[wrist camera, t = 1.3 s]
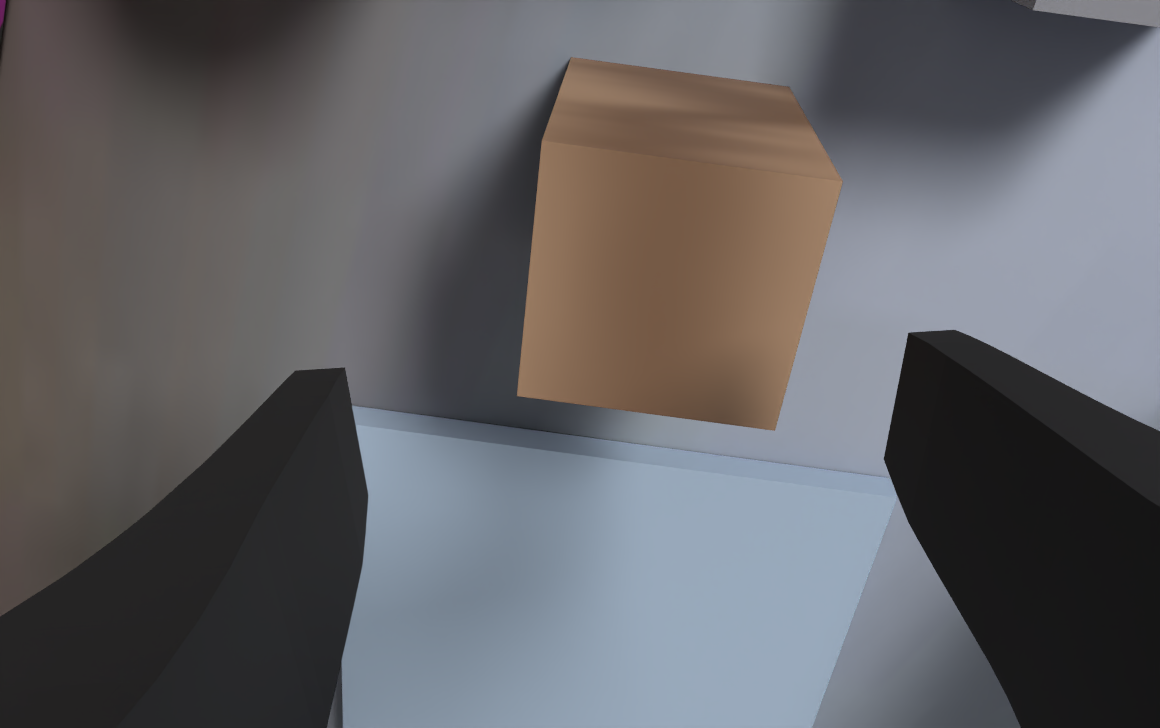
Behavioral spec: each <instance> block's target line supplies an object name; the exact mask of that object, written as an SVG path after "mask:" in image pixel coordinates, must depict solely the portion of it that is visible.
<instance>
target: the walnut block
mask: <svg viewBox="0 0 1160 728" xmlns="http://www.w3.org/2000/svg"><path fill="white" fill-rule="evenodd" d="M842 183H843V181H842V179H841V177H840V176H839V174H838V172H837V170H836V169H835V167H834V165H833V163H832V162H831V160H830V158H829V156H828V155H827V153H826V151H825V149H824V148H823V146H822V144H821V142H820V140H819V139H818V137H817V135H816V133H815V132H814V130H813V128H812V126H811V125H810V123H809V121H808V119H807V118H806V116H805V114H804V112H803V111H802V109H801V107H800V105H799V103H798V102H797V100H796V98H795V96H794V95H793V93H792V91H791V89H790V88H789V87H786V86H779V85H772V84H764V83H757V82H750V81H742V80H735V79H728V78H720V77H713V76H705V75H698V74H691V73H683V72H676V71H669V70H661V69H654V68H647V67H639V66H632V65H624V64H617V63H610V62H602V61H595V60H588V59H580V58H573V57H571V59H570V62H569V65H568V68H567V71H566V73H565V76H564V79H563V82H562V85H561V88H560V91H559V93H558V96H557V99H556V102H555V105H554V108H553V110H552V113H551V116H550V119H549V122H548V125H547V128H546V130H545V133H544V136H543V139H542V144H541V155H540V165H539V175H538V185H537V195H536V206H535V216H534V226H533V236H532V247H531V257H530V267H529V277H528V287H527V298H526V308H525V318H524V328H523V339H522V349H521V359H520V369H519V379H518V390H517V396H521V397H528V398H536V399H543V400H551V401H558V402H565V403H573V404H580V405H588V406H595V407H603V408H610V409H618V410H625V411H632V412H640V413H647V414H655V415H662V416H670V417H677V418H685V419H692V420H699V421H707V422H714V423H722V424H729V425H737V426H744V427H752V428H759V429H766V430H774V431H775V428H776V425H777V421H778V417H779V414H780V410H781V406H782V403H783V399H784V395H785V392H786V388H787V384H788V381H789V377H790V373H791V370H792V366H793V362H794V359H795V355H796V351H797V348H798V344H799V340H800V337H801V333H802V329H803V326H804V322H805V318H806V315H807V311H808V307H809V304H810V300H811V296H812V293H813V289H814V285H815V282H816V278H817V274H818V271H819V267H820V263H821V260H822V256H823V252H824V249H825V245H826V241H827V238H828V234H829V230H830V227H831V223H832V219H833V216H834V212H835V208H836V205H837V201H838V197H839V194H840V190H841V186H842Z"/></svg>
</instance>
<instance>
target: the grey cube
mask: <svg viewBox="0 0 1160 728" xmlns="http://www.w3.org/2000/svg"><path fill="white" fill-rule="evenodd" d="M1011 1H1014V2H1016V3H1018V4H1020V5H1022V6H1025V7H1027V8H1029V9H1031V10H1035V11H1042V12H1050V13H1057V14H1065V15H1072V16H1079V17H1087V18H1094V19H1102V20H1109V21H1116V22H1124V23H1131V24H1138V25H1146V26H1153V27H1160V0H1011Z"/></svg>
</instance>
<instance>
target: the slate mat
mask: <svg viewBox="0 0 1160 728" xmlns="http://www.w3.org/2000/svg"><path fill="white" fill-rule="evenodd" d="M352 409H353V414H354V420H355V425H356V431H357V436H358V441H359V447H360V452H361V458H362V463H363V468H364V474H365V479H366V485H367V490H368V495H369V496H368V509H367V522H366V535H365V545H364V556H363V565H362V570H361V575H360V580H359V584H358V589H357V593H356V598H355V603H354V607H353V612H352V616H351V621H350V625H349V630H348V634H347V639H346V643H345V647H344V652H343V656H342V704H343V728H812V726H813V723H814V721H815V718H816V715H817V712H818V710H819V707H820V704H821V702H822V699H823V696H824V694H825V691H826V688H827V686H828V683H829V680H830V677H831V675H832V672H833V669H834V667H835V664H836V661H837V659H838V656H839V653H840V651H841V648H842V645H843V642H844V640H845V637H846V634H847V632H848V629H849V626H850V624H851V621H852V618H853V616H854V613H855V610H856V607H857V605H858V602H859V599H860V597H861V594H862V591H863V589H864V586H865V583H866V580H867V578H868V575H869V572H870V570H871V567H872V564H873V562H874V559H875V556H876V554H877V551H878V548H879V545H880V543H881V540H882V537H883V535H884V532H885V529H886V527H887V524H888V521H889V519H890V516H891V513H892V510H893V508H894V505H895V502H896V500H897V496H896V493H895V490H894V488H893V485H892V482H891V480H890V478H885V477H878V476H870V475H863V474H855V473H848V472H841V471H833V470H826V469H818V468H811V467H803V466H796V465H789V464H781V463H774V462H766V461H759V460H752V459H744V458H737V457H729V456H722V455H714V454H707V453H700V452H692V451H685V450H677V449H670V448H663V447H655V446H648V445H640V444H633V443H625V442H618V441H611V440H603V439H596V438H588V437H581V436H574V435H566V434H559V433H551V432H544V431H536V430H529V429H522V428H514V427H507V426H499V425H492V424H485V423H477V422H470V421H462V420H455V419H447V418H440V417H433V416H425V415H418V414H410V413H403V412H396V411H388V410H381V409H373V408H366V407H358V406H352Z"/></svg>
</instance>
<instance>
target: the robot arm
mask: <svg viewBox="0 0 1160 728" xmlns="http://www.w3.org/2000/svg"><path fill="white" fill-rule="evenodd" d="M884 461H885V464H886V466H887V469H888V472H889V474H890V477H891V480H892V482H893V485H894V488H895V490H896V493H897V496H898V498H899V500H900V503H901V505H902V508H903V510H904V512H905V515H906V517H907V520H908V522H909V524H910V526H911V528H912V530H913V531H914V533H915V535H916V537H917V539H918V540H919V542H920V544H921V546H922V548H923V549H924V551H925V553H926V555H927V556H928V558H929V560H930V562H931V563H932V565H933V567H934V569H935V570H936V572H937V574H938V576H939V577H940V579H941V581H942V582H943V584H944V586H945V588H946V589H947V591H948V593H949V594H950V596H951V598H952V600H953V601H954V603H955V605H956V606H957V608H958V610H959V612H960V613H961V615H962V617H963V618H964V620H965V622H966V624H967V625H968V627H969V629H970V630H971V632H972V634H973V636H974V637H975V639H976V641H977V642H978V644H979V646H980V648H981V649H982V651H983V653H984V654H985V656H986V658H987V660H988V661H989V663H990V665H991V667H992V669H993V671H994V672H995V674H996V676H997V678H998V680H999V682H1000V684H1001V686H1002V688H1003V690H1004V691H1005V693H1006V695H1007V697H1008V699H1009V702H1010V704H1011V706H1012V708H1013V711H1014V713H1015V715H1016V717H1017V720H1018V722H1019V724H1020V726H1021V728H1160V431H1158V430H1156V429H1153V428H1151V427H1149V426H1147V425H1145V424H1143V423H1141V422H1138V421H1136V420H1134V419H1132V418H1130V417H1128V416H1126V415H1124V414H1122V413H1120V412H1118V411H1116V410H1114V409H1112V408H1110V407H1108V406H1106V405H1104V404H1102V403H1100V402H1098V401H1096V400H1094V399H1092V398H1090V397H1088V396H1086V395H1084V394H1082V393H1080V392H1079V391H1077V390H1075V389H1073V388H1071V387H1069V386H1067V385H1065V384H1063V383H1061V382H1059V381H1057V380H1056V379H1054V378H1052V377H1050V376H1048V375H1046V374H1044V373H1042V372H1040V371H1038V370H1037V369H1035V368H1033V367H1031V366H1029V365H1027V364H1025V363H1023V362H1021V361H1019V360H1018V359H1016V358H1014V357H1012V356H1010V355H1008V354H1006V353H1004V352H1002V351H1000V350H998V349H996V348H994V347H992V346H990V345H988V344H986V343H984V342H982V341H980V340H978V339H975V338H973V337H971V336H969V335H966V334H964V333H961V332H959V331H956V330H945V331H929V332H912V333H908V338H907V343H906V348H905V353H904V358H903V364H902V369H901V374H900V379H899V384H898V389H897V394H896V399H895V404H894V410H893V415H892V420H891V425H890V430H889V435H888V440H887V445H886V451H885V456H884ZM368 496H369V495H368V490H367V485H366V479H365V474H364V468H363V463H362V458H361V452H360V447H359V441H358V436H357V431H356V425H355V420H354V414H353V409H352V403H351V398H350V393H349V387H348V382H347V376H346V371H345V368H331V369H315V370H299V371H295V372H294V373H293V374H292V375H290V376H289V377H288V378H287V379H286V380H285V381H284V382H283V383H282V384H281V385H280V386H279V387H278V388H277V390H276V391H275V392H274V393H273V394H272V395H271V396H270V397H269V398H268V399H267V400H266V401H265V402H264V403H263V404H262V405H261V406H260V407H259V408H258V409H257V410H256V411H255V412H254V413H253V414H252V415H251V417H250V418H249V419H248V420H247V421H246V422H245V423H244V424H243V425H242V426H241V427H240V428H239V429H238V430H237V431H236V432H235V433H234V434H233V435H232V436H231V437H230V438H229V439H228V440H227V441H226V442H225V443H224V444H223V445H222V446H221V447H220V448H219V449H218V450H217V451H216V452H215V453H214V454H213V455H212V456H211V457H209V458H208V459H207V460H206V461H205V462H204V463H203V464H202V465H201V466H200V467H199V468H197V469H196V470H195V471H194V472H193V473H192V474H191V475H190V476H189V477H187V478H186V479H185V480H184V481H183V482H182V483H181V484H180V485H178V486H177V487H176V488H175V489H174V490H173V491H172V492H171V493H169V494H168V495H167V496H166V497H165V498H164V499H163V500H162V501H160V502H159V503H158V504H157V505H156V506H155V507H154V508H153V509H152V510H150V511H149V512H148V513H147V514H146V515H144V516H143V517H142V518H141V519H140V520H138V521H137V522H136V523H135V524H133V525H132V526H131V527H130V528H128V529H127V530H126V531H124V532H123V533H122V534H121V535H119V536H118V537H117V538H116V539H114V540H113V541H112V542H110V543H109V544H107V545H106V546H105V547H103V548H102V549H101V550H99V551H98V552H97V553H95V554H94V555H93V556H91V557H90V558H88V559H87V560H86V561H84V562H83V563H82V564H80V565H79V566H78V567H76V568H75V569H73V570H72V571H70V572H69V573H68V574H66V575H65V576H63V577H62V578H60V579H59V580H57V581H56V582H54V583H52V584H51V585H49V586H48V587H46V588H45V589H43V590H41V591H40V592H38V593H37V594H35V595H34V596H32V597H30V598H29V599H27V600H26V601H24V602H23V603H21V604H20V605H18V606H16V607H15V608H13V609H12V610H10V611H9V612H7V613H5V614H4V615H2V616H1V617H0V728H327V724H328V719H329V714H330V710H331V705H332V701H333V696H334V692H335V687H336V683H337V679H338V674H339V670H340V665H341V661H342V656H343V652H344V647H345V643H346V639H347V634H348V630H349V625H350V621H351V616H352V612H353V607H354V603H355V598H356V593H357V589H358V584H359V580H360V575H361V570H362V565H363V556H364V545H365V535H366V522H367V509H368Z"/></svg>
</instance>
